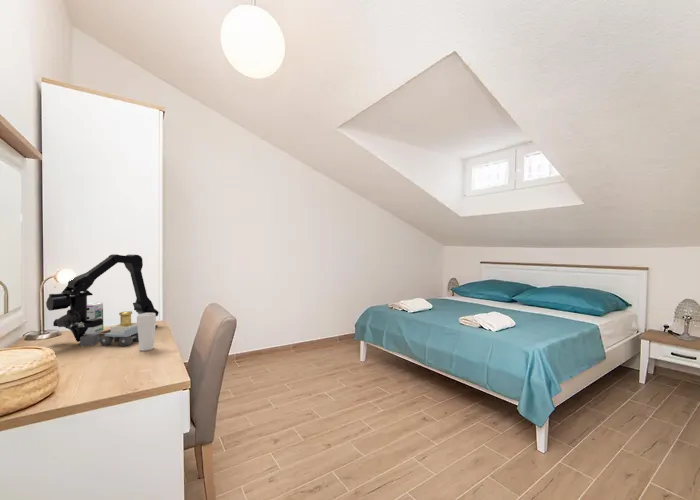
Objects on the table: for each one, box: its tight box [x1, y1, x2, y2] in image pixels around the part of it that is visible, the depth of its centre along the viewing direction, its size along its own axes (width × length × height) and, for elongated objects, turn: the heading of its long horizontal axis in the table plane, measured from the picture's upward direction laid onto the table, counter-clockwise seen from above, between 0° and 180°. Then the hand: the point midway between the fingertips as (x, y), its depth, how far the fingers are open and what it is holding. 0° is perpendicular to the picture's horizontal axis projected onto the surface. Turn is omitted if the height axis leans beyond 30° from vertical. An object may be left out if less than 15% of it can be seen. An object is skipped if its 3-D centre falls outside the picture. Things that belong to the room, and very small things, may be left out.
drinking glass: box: [136, 313, 157, 352], centre depth 137 cm, size 7×7×15 cm
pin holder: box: [98, 329, 111, 337], centre depth 156 cm, size 8×8×2 cm
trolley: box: [99, 326, 139, 347], centre depth 146 cm, size 10×13×7 cm
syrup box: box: [85, 302, 104, 334], centre depth 162 cm, size 6×6×14 cm
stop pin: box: [118, 310, 133, 327], centre depth 147 cm, size 5×5×8 cm
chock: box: [79, 332, 100, 347], centre depth 144 cm, size 6×5×4 cm
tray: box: [110, 322, 137, 333], centre depth 147 cm, size 8×8×3 cm
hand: (78, 341), depth 144 cm, fingers closed
